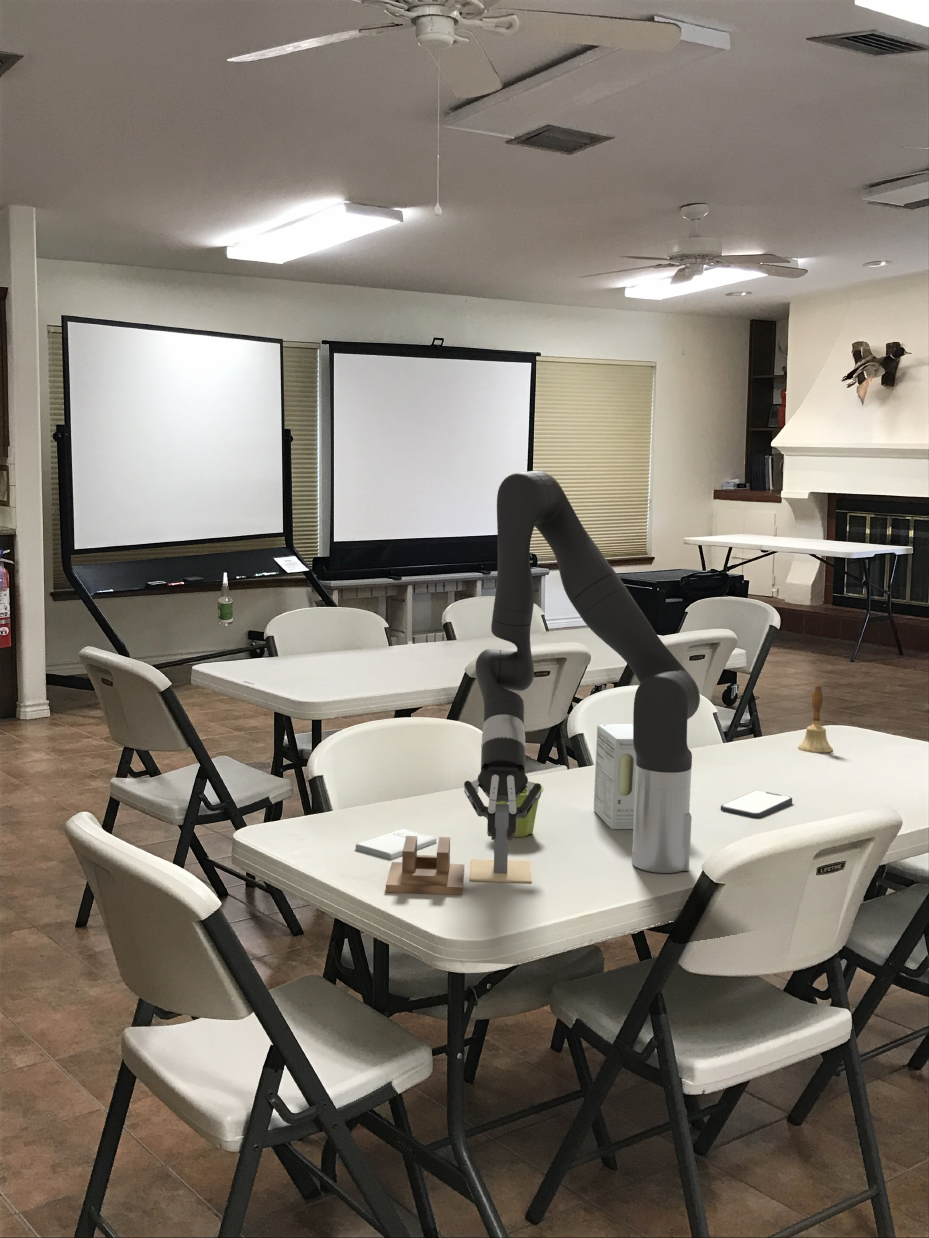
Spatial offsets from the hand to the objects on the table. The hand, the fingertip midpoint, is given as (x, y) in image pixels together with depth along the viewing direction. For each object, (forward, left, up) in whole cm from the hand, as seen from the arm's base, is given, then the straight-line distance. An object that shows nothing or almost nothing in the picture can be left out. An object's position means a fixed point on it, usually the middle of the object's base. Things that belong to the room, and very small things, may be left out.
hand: (501, 837), depth 194 cm
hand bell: (-78, -101, -7) cm, 128 cm away
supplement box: (-26, -35, -7) cm, 44 cm away
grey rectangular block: (0, -2, -6) cm, 6 cm away
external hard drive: (+18, -14, -7) cm, 24 cm away
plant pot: (-3, -24, -7) cm, 25 cm away
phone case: (-52, -47, -7) cm, 70 cm away
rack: (+12, +4, -7) cm, 14 cm away
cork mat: (0, -2, -7) cm, 7 cm away
